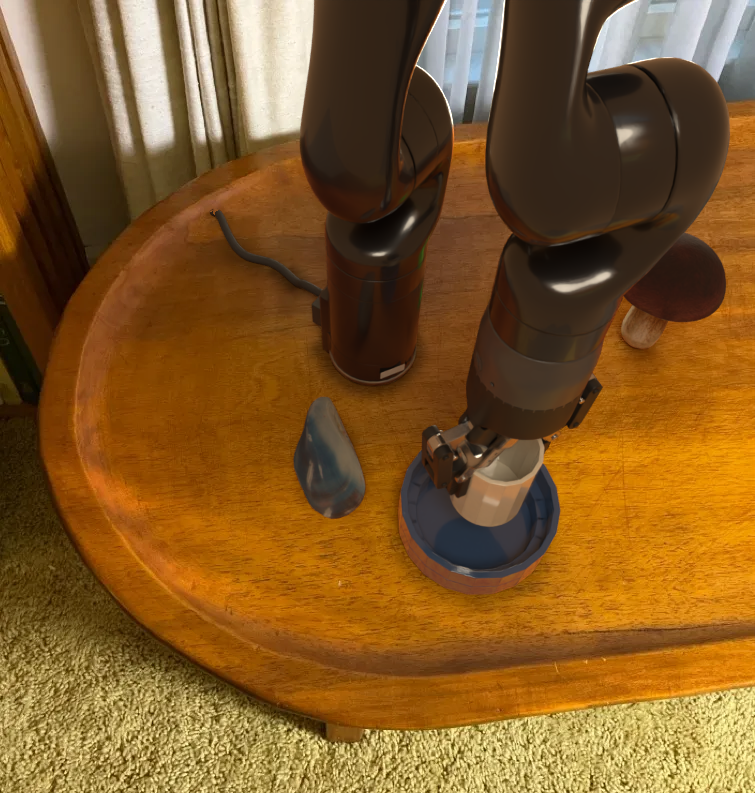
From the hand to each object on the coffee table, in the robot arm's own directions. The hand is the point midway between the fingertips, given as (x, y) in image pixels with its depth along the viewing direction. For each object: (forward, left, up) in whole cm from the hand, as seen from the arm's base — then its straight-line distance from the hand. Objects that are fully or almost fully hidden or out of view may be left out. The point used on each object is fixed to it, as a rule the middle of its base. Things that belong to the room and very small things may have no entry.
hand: (493, 469), depth 63 cm
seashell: (-14, -3, -12) cm, 19 cm away
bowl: (0, 0, -12) cm, 12 cm away
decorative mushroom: (+4, +29, -12) cm, 32 cm away
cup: (0, 0, -4) cm, 4 cm away
